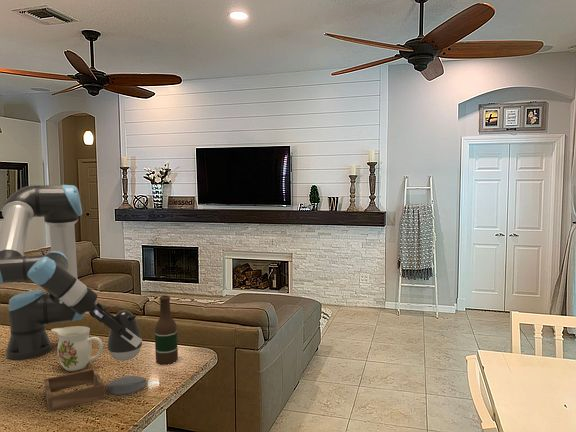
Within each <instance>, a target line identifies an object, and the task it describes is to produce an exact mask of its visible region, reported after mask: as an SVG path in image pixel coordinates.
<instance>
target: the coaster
mask: <svg viewBox="0 0 576 432" xmlns="http://www.w3.org/2000/svg"><path fill="white" fill-rule="evenodd" d="M146 386H147V378H145V377H143V376H139V375H126V376H121V377H118V378H115V379H113V380H111V381H109V382H108V384H106V392H107V393H108V394H110V395H116V396H124V395H125V396H126V395H131V394H134V393H137V392H139V391H141V390H143V389H144V388H146Z"/></svg>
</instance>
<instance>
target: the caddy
mask: <svg viewBox="0 0 576 432" xmlns="http://www.w3.org/2000/svg"><path fill="white" fill-rule="evenodd" d="M101 378H102V377H101V375H100V374H99V373H98V370H97V368H95V367H94V368H90V369H85V370H79V371H74V372H72V373H71V372H70V373H67V374H61V375H57V376H52V377H48V378H44V381H43V382H44V393H45V399H46V404H47V408H48V412H53V411H57V410H62V409H65V408H70V407H74V406H77V405H81V404H86V403H89V402H93V401H97V400H102V399H105V384H104V382H103V381H102V379H101ZM90 383H93V386H89V387H84V388H81V389H80V388H79V389H76V390H72V391H67V392H64V393H63V392H62V393H58V394H54V395H52V392H54V391H58V390H59V391H60V390H63V389H67V388H72V387H76V386H81V385H85V384H90Z"/></svg>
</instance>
